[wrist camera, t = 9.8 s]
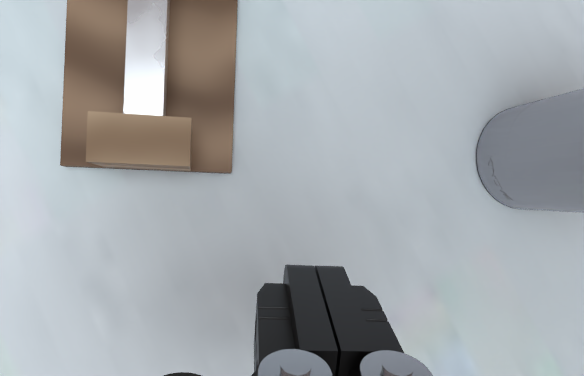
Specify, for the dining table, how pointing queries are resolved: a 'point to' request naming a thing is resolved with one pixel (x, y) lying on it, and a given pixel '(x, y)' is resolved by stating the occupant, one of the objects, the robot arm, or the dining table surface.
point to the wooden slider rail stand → (179, 99)
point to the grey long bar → (146, 57)
